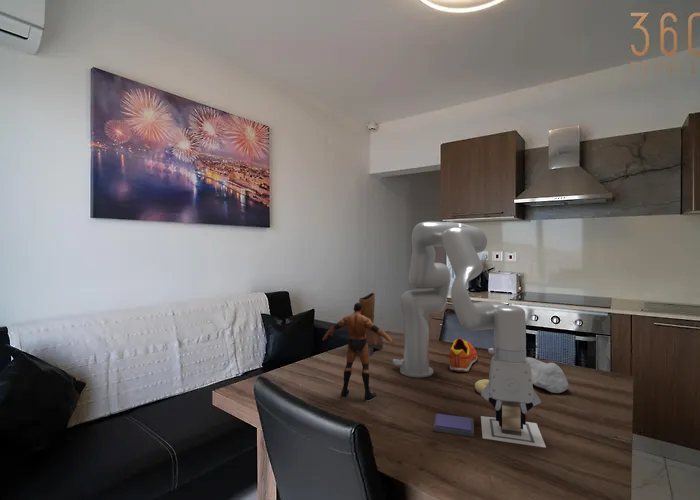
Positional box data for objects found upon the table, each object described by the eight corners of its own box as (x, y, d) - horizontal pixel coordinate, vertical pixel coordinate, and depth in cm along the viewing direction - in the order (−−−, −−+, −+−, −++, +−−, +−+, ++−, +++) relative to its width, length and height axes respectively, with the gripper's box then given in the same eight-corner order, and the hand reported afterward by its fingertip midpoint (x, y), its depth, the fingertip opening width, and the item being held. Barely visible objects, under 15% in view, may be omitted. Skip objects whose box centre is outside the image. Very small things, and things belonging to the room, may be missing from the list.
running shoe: (478, 354, 158) (477, 330, 158) (476, 376, 131) (476, 346, 131) (454, 352, 161) (453, 328, 161) (448, 372, 135) (447, 344, 135)
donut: (480, 392, 122) (472, 397, 114) (479, 378, 123) (470, 382, 115) (511, 394, 116) (504, 399, 108) (509, 379, 117) (502, 383, 109)
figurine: (397, 397, 112) (396, 303, 112) (392, 405, 106) (392, 306, 106) (326, 388, 120) (326, 300, 120) (319, 395, 114) (318, 302, 114)
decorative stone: (579, 385, 114) (561, 360, 114) (557, 405, 112) (540, 380, 112) (541, 371, 131) (526, 350, 131) (522, 389, 129) (506, 367, 129)
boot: (372, 342, 180) (371, 289, 180) (388, 344, 176) (388, 290, 176) (348, 355, 158) (347, 295, 158) (366, 358, 153) (366, 296, 154)
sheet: (482, 438, 87) (482, 437, 87) (480, 416, 99) (480, 415, 99) (546, 447, 83) (546, 446, 83) (536, 423, 94) (536, 422, 94)
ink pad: (433, 430, 91) (433, 425, 91) (435, 417, 99) (435, 412, 99) (474, 437, 88) (474, 431, 88) (473, 422, 96) (473, 417, 96)
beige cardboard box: (501, 433, 89) (501, 405, 89) (500, 424, 94) (500, 398, 94) (521, 435, 88) (521, 408, 88) (518, 427, 92) (518, 400, 92)
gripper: (475, 355, 90) (476, 427, 90) (549, 361, 85) (550, 437, 85) (475, 348, 97) (475, 414, 97) (543, 353, 92) (543, 423, 92)
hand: (510, 424), depth 91 cm, fingers closed on beige cardboard box, 4 cm apart
